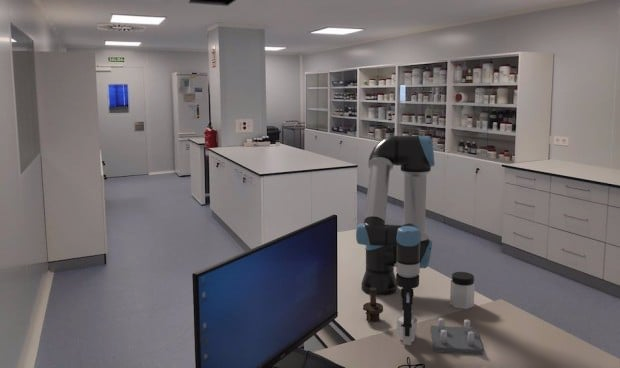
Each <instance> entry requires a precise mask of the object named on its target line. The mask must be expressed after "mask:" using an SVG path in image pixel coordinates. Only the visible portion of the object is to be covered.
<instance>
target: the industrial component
mask: <svg viewBox="0 0 620 368" xmlns="http://www.w3.org/2000/svg"><path fill="white" fill-rule="evenodd" d="M369 298H370V299H369V300H370V302H368V301H367V302H366V303H364V304H363V305H362V310H363V311H366V312H365V313H364V315H366V321H367V323H376V322H377V323H378V322H379V321H380V314H382V313H383V312H384V306H383V305H382V304H381V303H379V302H377V295H376V288H371V289H370V294H369Z"/></svg>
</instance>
